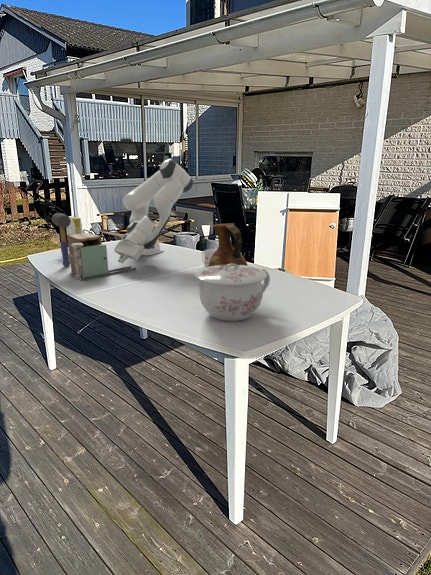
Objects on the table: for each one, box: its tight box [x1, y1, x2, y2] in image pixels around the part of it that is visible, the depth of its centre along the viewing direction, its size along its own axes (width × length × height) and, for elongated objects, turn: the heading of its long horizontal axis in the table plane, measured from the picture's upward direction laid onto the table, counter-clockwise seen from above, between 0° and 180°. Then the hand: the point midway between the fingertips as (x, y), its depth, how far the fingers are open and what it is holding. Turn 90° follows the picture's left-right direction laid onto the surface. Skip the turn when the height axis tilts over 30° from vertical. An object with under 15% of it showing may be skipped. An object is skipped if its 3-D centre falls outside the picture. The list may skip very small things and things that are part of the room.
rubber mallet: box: [51, 212, 71, 268], centre depth 223 cm, size 12×8×30 cm, turn 37°
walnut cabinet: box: [66, 232, 103, 282], centre depth 210 cm, size 16×18×20 cm
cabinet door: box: [78, 243, 109, 281], centre depth 206 cm, size 15×4×16 cm, turn 133°
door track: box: [80, 265, 137, 282], centre depth 213 cm, size 30×5×1 cm, turn 133°
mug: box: [201, 248, 218, 268], centre depth 218 cm, size 12×9×11 cm
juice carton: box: [65, 215, 84, 236], centre depth 256 cm, size 9×8×24 cm
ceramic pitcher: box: [208, 222, 249, 267], centre depth 189 cm, size 20×20×30 cm
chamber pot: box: [194, 263, 271, 322], centre depth 154 cm, size 28×28×21 cm
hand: (119, 262), depth 216 cm, fingers closed
